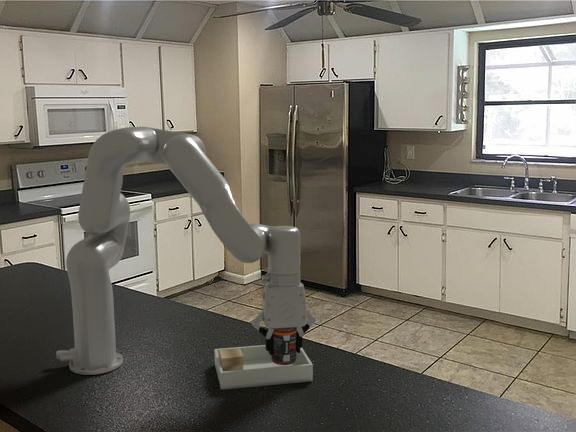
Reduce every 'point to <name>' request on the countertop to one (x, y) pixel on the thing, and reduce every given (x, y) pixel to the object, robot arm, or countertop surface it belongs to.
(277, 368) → the tray
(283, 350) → the supplement bottle
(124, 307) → the countertop surface
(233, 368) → the maple cube
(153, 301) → the countertop surface
